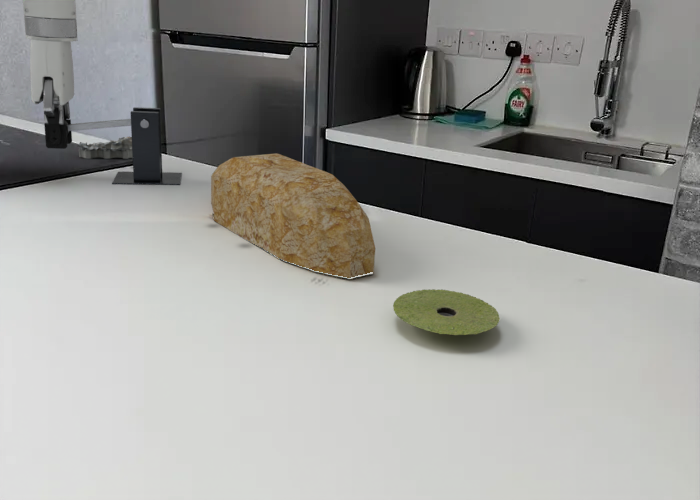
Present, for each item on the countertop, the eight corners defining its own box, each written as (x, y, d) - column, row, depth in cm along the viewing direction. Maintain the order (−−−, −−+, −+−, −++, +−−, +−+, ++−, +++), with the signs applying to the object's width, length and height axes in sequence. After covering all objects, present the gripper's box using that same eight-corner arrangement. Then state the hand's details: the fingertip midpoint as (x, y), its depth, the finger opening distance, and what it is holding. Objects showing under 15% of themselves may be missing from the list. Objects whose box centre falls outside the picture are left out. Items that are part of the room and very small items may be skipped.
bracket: (112, 190, 114) (107, 112, 109) (118, 178, 121) (114, 105, 117) (180, 190, 116) (178, 115, 111) (182, 178, 123) (180, 107, 119)
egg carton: (138, 156, 138) (137, 136, 136) (135, 164, 131) (134, 143, 129) (82, 154, 135) (80, 134, 134) (76, 163, 129) (74, 142, 127)
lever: (48, 140, 111) (44, 121, 110) (52, 137, 114) (48, 117, 113) (155, 131, 114) (152, 112, 113) (156, 127, 117) (153, 109, 116)
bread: (191, 207, 107) (190, 144, 104) (252, 199, 114) (253, 139, 110) (324, 286, 81) (329, 205, 78) (393, 270, 87) (400, 194, 84)
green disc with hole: (408, 354, 67) (410, 336, 66) (380, 305, 77) (381, 289, 76) (515, 349, 69) (518, 331, 68) (473, 302, 79) (475, 287, 79)
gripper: (38, 25, 114) (46, 135, 120) (11, 31, 99) (22, 155, 105) (85, 28, 115) (91, 136, 122) (66, 34, 100) (74, 157, 107)
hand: (59, 144), depth 113 cm, fingers closed on lever, 3 cm apart
